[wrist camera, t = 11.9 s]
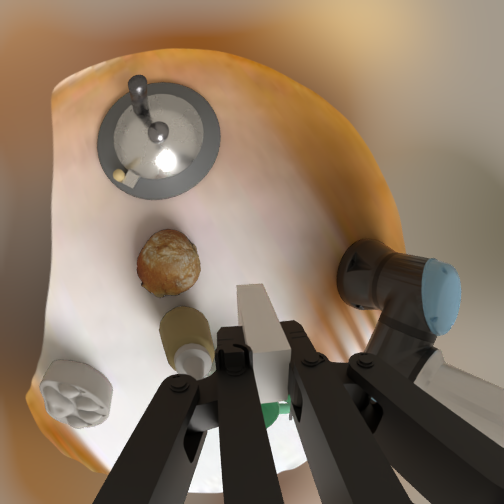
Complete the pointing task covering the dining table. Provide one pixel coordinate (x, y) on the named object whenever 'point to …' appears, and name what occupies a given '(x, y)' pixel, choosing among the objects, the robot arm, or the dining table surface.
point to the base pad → (174, 183)
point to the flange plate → (162, 153)
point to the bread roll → (168, 263)
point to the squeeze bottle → (187, 341)
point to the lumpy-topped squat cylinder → (76, 394)
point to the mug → (274, 410)
